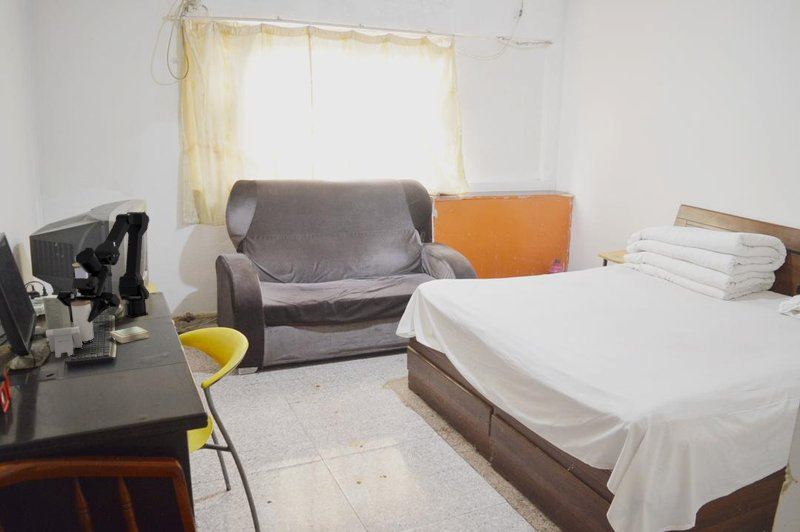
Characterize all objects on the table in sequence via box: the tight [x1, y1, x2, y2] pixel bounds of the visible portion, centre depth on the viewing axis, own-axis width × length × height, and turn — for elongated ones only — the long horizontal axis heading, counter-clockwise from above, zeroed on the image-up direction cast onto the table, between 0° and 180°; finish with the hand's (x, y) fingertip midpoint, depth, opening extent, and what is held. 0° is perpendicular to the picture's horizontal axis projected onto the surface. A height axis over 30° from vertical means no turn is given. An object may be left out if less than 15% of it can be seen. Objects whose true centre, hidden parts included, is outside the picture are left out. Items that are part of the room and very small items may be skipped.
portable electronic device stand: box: [45, 326, 84, 358], centre depth 181 cm, size 9×8×8 cm
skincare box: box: [42, 294, 72, 330], centre depth 205 cm, size 6×4×12 cm
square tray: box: [109, 326, 150, 344], centre depth 197 cm, size 9×9×2 cm
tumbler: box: [71, 299, 95, 341], centre depth 191 cm, size 6×6×13 cm
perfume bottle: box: [71, 256, 89, 295], centre depth 243 cm, size 6×6×20 cm
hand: (80, 321), depth 190 cm, fingers closed on tumbler, 5 cm apart
